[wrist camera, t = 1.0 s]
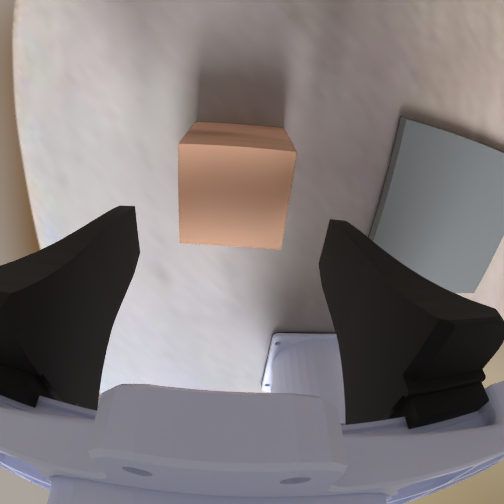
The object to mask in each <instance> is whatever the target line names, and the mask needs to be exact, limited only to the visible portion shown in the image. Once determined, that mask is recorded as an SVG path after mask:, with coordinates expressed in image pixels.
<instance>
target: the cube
mask: <svg viewBox="0 0 504 504" xmlns="http://www.w3.org/2000/svg"><path fill="white" fill-rule="evenodd" d="M296 154H297V151H296V150H295V148H294V146H293V144H292V142H291V140H290V138H289V136H288V135H287V133H286V131H285V129H284V128H279V127H269V126H259V125H247V124H233V123H215V122H195V123H194V125H193V126H192V127H191V128H190V130H189V131H188V132H187V133H186V135H185V136H184V137H183V139H182V140H181V141H180V142H179V148H178V189H179V232H180V243H188V244H204V245H219V246H234V247H249V248H264V249H279V250H281V247H282V241H283V236H284V230H285V224H286V218H287V211H288V205H289V199H290V193H291V187H292V180H293V174H294V167H295V161H296Z"/></svg>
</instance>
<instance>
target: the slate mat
mask: <svg viewBox="0 0 504 504" xmlns="http://www.w3.org/2000/svg"><path fill="white" fill-rule="evenodd" d="M503 235H504V152H502V151H499V150H497V149H495V148H492V147H490V146H487V145H485V144H482V143H480V142H477V141H475V140H472V139H469V138H467V137H464V136H461V135H458V134H455V133H452V132H450V131H447V130H444V129H440V128H437V127H434V126H431V125H428V124H425V123H421V122H418V121H414V120H411V119H407V118H404V117H400V122H399V126H398V131H397V135H396V140H395V144H394V148H393V153H392V157H391V161H390V165H389V169H388V172H387V176H386V180H385V184H384V187H383V191H382V195H381V198H380V202H379V205H378V209H377V212H376V215H375V219H374V222H373V225H372V228H371V232H370V235H369V239H371V240H372V241H373V242H374V243H376V244H377V245H378V246H379V247H381V248H382V249H383V250H384V251H386V252H387V253H388V254H390V255H391V256H392V257H394V258H395V259H397V260H398V261H399V262H401V263H402V264H404V265H405V266H407V267H408V268H410V269H411V270H413V271H414V272H416V273H418V274H419V275H421V276H422V277H424V278H426V279H428V280H429V281H431V282H433V283H435V284H437V285H439V286H441V287H442V288H444V289H446V290H449V291H451V292H453V293H474V292H475V290H476V289H477V287H478V285H479V283H480V281H481V280H482V278H483V276H484V274H485V272H486V270H487V268H488V266H489V264H490V262H491V260H492V258H493V256H494V254H495V252H496V250H497V248H498V246H499V244H500V242H501V239H502V237H503Z"/></svg>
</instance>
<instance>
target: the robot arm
mask: <svg viewBox="0 0 504 504" xmlns="http://www.w3.org/2000/svg"><path fill="white" fill-rule="evenodd" d="M139 254H140V248H139V240H138V232H137V223H136V213H135V206H118V207H116V208H114V209H112V210H110V211H108V212H107V213H105V214H103V215H102V216H100V217H98V218H97V219H95V220H93V221H92V222H90V223H89V224H87V225H85V226H84V227H82V228H80V229H79V230H77V231H75V232H73V233H72V234H70V235H68V236H67V237H65V238H63V239H61V240H60V241H58V242H56V243H54V244H52V245H50V246H48V247H46V248H44V249H42V250H40V251H37V252H35V253H33V254H30V255H28V256H25V257H23V258H21V259H18V260H16V261H13V262H10V263H7V264H4V265H1V266H0V466H1V467H2V468H4V469H6V470H8V471H10V472H12V473H14V474H16V475H18V476H20V477H22V478H24V479H26V480H28V481H30V482H33V483H35V484H37V485H39V486H41V487H44V488H46V489H49V490H50V494H49V499H48V504H403V503H406V502H409V501H412V500H415V499H418V498H421V497H424V496H426V495H429V494H432V493H434V492H437V491H439V490H442V489H444V488H447V487H449V486H452V485H454V484H456V483H459V482H461V481H463V480H465V479H468V478H470V477H472V476H474V475H476V474H478V473H480V472H482V471H484V470H487V469H489V468H490V467H492V466H493V465H495V464H497V463H498V462H500V461H501V460H503V459H504V381H501V382H498V383H495V384H492V385H490V386H489V387H487V388H486V389H484V387H483V385H482V381H484V380H485V374H484V372H483V370H482V369H483V368H484V366H485V365H486V364H487V363H488V362H489V360H490V359H491V358H492V357H493V356H494V354H495V353H496V352H497V350H498V349H499V348H500V346H501V345H502V343H503V341H504V320H503V319H502V317H501V316H500V314H499V313H498V311H497V310H496V309H494V308H491V307H489V306H486V305H483V304H480V303H477V302H474V301H471V300H469V299H467V298H464V297H462V296H460V295H457V294H455V293H453V292H451V291H449V290H446V289H444V288H442V287H441V286H439V285H437V284H435V283H433V282H431V281H429V280H428V279H426V278H424V277H422V276H421V275H419V274H418V273H416V272H414V271H413V270H411V269H410V268H408V267H407V266H405V265H404V264H402V263H401V262H399V261H398V260H397V259H395V258H394V257H392V256H391V255H390V254H388V253H387V252H386V251H384V250H383V249H382V248H381V247H379V246H378V245H377V244H376V243H374V242H373V241H372V240H371V239H369V238H368V237H367V236H366V235H364V234H363V233H362V232H361V231H359V230H358V229H357V228H355V227H354V226H353V225H351V224H350V223H348V222H346V221H341V220H331V219H330V222H329V226H328V230H327V234H326V238H325V242H324V246H323V250H322V254H321V257H320V261H319V269H320V276H321V282H322V287H323V291H324V294H325V298H326V301H327V304H328V308H329V311H330V314H331V318H332V321H333V324H334V328H335V331H336V334H297V333H276V334H274V335H273V337H272V341H271V346H270V350H269V355H268V359H267V364H266V368H265V372H264V377H263V381H262V385H261V390H262V391H263V392H271V393H246V392H224V391H208V390H196V389H185V388H175V387H166V386H158V385H150V384H121V385H118V386H115V387H113V388H111V389H109V390H107V391H105V392H103V393H102V395H101V398H100V402H99V405H98V396H99V390H100V383H101V376H102V370H103V365H104V360H105V355H106V350H107V346H108V342H109V338H110V334H111V330H112V327H113V324H114V321H115V318H116V315H117V313H118V311H119V308H120V306H121V303H122V301H123V299H124V296H125V294H126V292H127V289H128V287H129V284H130V282H131V280H132V277H133V275H134V272H135V269H136V265H137V262H138V258H139ZM97 408H98V409H97Z"/></svg>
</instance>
